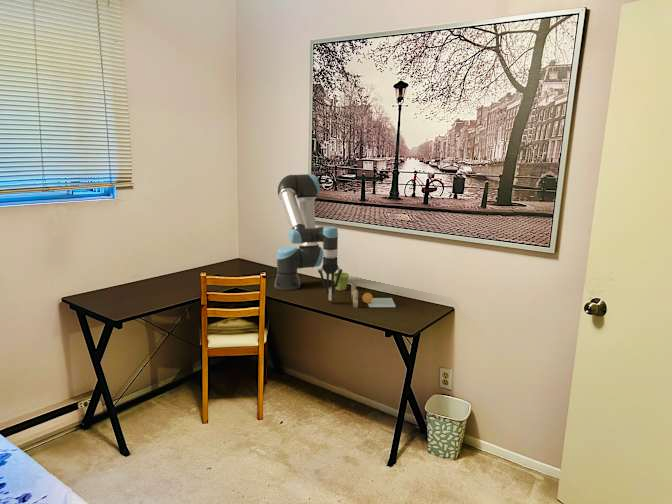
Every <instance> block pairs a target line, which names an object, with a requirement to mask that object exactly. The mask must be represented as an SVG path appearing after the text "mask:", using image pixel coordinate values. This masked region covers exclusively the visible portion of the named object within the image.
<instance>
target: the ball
mask: <svg viewBox="0 0 672 504" xmlns="http://www.w3.org/2000/svg"><path fill="white" fill-rule="evenodd" d="M373 298H374V297H373V295H372V294H371V293H370V292H365V293H364V294H362V298H361V300H362V301H363V302H364V303H366V304H368V303H370V302H371V301H372V299H373Z"/></svg>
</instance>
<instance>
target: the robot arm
mask: <svg viewBox="0 0 672 504" xmlns="http://www.w3.org/2000/svg"><path fill="white" fill-rule="evenodd" d="M320 190H321V186H320V182H319V179H318V177H317V175H316V174H288V175H286V176H284V177H283V178H282V179H281V181H280V182H279V183H278V186H277V194H278V195H277V196H278V198H279V200H281V201H282V204H283V208H284V211H285V213H286V218H287V219H288V220H287V221H288V223H289V227H290V229H289V231H288V237H289V238H288V239H289V242H290V243H291V244H294V245H287V246H286V245H285V246H283V247H280V248H279V249H277V251H276V273H277V274H276V277H275V280H274V284H273V285H274V286H273V287H274V289H277V290H278V291H294V290H298V289H299V288H301V281H300V277H299V274H298V269H306V268H307V269H309V268H317V267H319V266H321V265H322V266H321V268H318V269H317V272H318V274H319V276H320V280H321V283H322V287H323V288H325V289H326V292H325V293H326V294H327V295H328V301H332V296H333V295H334V292H335V289H336V288H335V287H337V285H338V282H339V278H340V274H341V273H343V269H342V268H340V267H339V265H338V258H339V257H338V255H339V254H338V249H339V247H338V243H339V241H338V240H339V239H338V238H339V232H338V227H336V226H333V225H331V226H322V225H321V226H318V227H316V213H315V210H316V209H315V200H316V199H317V195H319V194H320V192H321V191H320ZM297 200H298V201H299V205H298V201H297ZM321 242H322V247H321V246H320V244H319V243H321ZM296 244H297V245H298V244H299V246H298V247H299V248H297V246H295V245H296ZM323 271H324V273H325V274H326V281H325V277H324V275H323ZM334 273H338V274H337V278H336V282H335V281H334ZM330 275H331V277H330ZM330 279H331V281H330ZM325 282H326V283H325ZM330 282H331V285H330Z"/></svg>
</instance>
